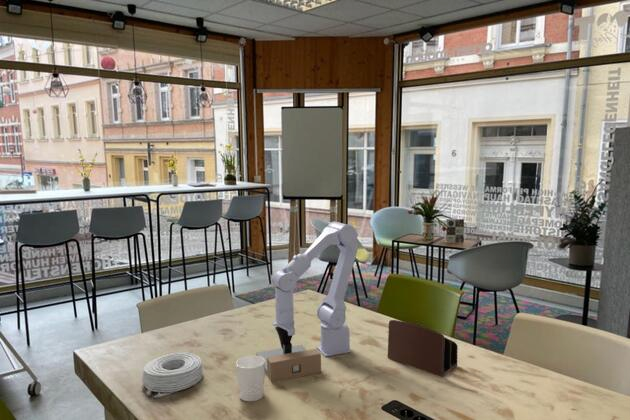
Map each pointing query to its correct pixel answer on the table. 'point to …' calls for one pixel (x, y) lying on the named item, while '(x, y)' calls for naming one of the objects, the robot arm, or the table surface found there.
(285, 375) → the door and jamb
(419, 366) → the letter holder
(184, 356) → the cable
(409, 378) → the table surface
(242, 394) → the white cup
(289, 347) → the bolt
